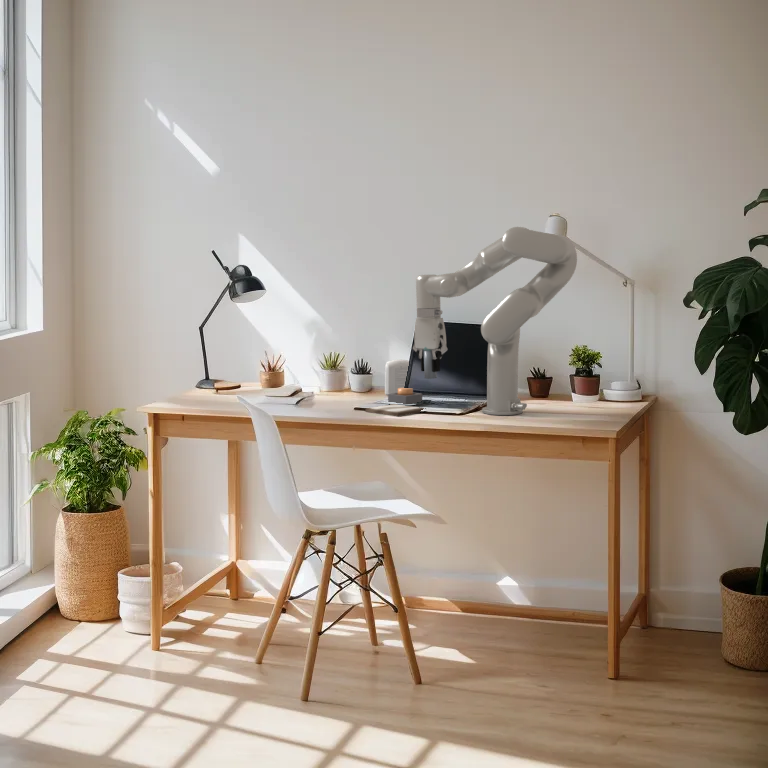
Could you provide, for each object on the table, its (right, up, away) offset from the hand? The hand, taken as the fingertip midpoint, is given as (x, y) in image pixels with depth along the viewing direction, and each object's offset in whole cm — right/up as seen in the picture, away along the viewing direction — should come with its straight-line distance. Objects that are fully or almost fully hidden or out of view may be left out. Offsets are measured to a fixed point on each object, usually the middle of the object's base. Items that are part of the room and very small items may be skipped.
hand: (430, 370), depth 317 cm
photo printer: (-10, -8, +35) cm, 38 cm away
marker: (0, -2, 0) cm, 2 cm away
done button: (-8, -8, +11) cm, 16 cm away
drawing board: (-11, -13, -3) cm, 17 cm away
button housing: (-8, -11, +12) cm, 18 cm away
